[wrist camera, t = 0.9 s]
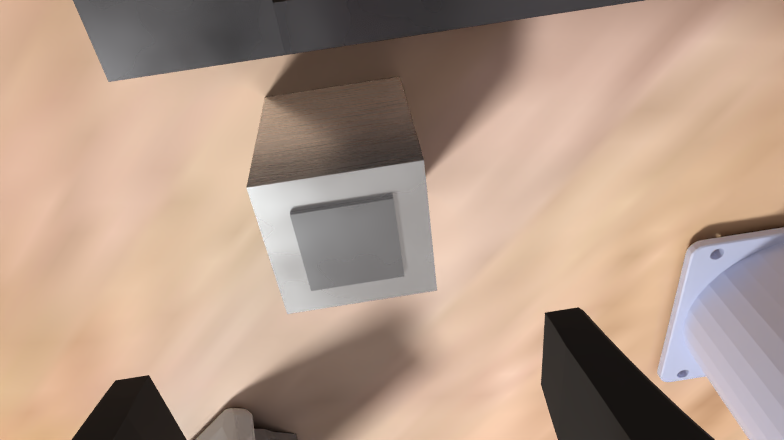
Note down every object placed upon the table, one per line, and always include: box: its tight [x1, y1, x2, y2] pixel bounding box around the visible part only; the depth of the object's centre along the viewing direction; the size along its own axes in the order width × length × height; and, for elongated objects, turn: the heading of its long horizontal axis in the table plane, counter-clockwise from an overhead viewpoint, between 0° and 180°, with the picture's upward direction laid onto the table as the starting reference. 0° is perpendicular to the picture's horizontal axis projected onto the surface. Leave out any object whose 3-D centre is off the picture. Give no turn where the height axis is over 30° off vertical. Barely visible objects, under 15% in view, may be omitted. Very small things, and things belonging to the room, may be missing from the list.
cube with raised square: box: [247, 77, 437, 314], centre depth 16 cm, size 4×4×5 cm
